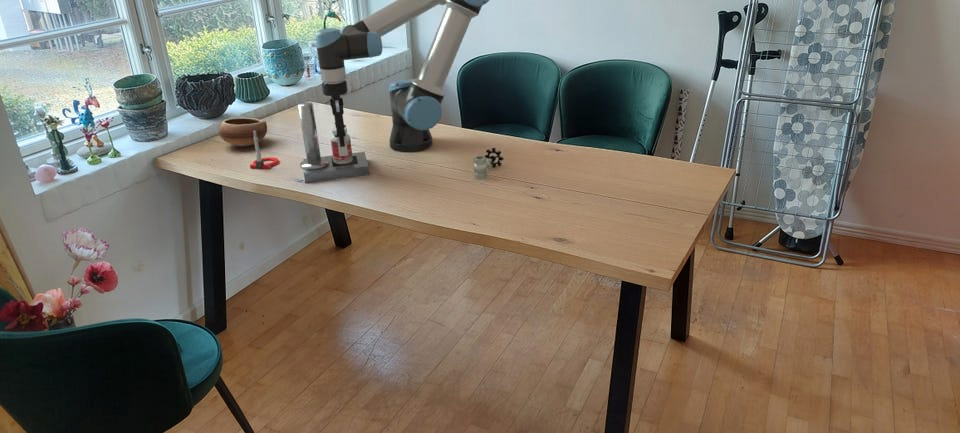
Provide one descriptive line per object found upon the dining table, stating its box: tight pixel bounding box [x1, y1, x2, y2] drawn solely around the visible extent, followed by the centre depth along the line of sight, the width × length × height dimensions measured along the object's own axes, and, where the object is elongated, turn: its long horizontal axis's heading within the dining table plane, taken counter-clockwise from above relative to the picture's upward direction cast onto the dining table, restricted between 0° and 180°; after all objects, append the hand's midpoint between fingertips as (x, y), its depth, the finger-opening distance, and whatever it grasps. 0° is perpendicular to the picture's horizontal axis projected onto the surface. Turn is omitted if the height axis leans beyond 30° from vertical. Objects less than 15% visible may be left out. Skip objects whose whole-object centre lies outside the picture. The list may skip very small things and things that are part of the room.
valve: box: [473, 147, 504, 180], centre depth 213 cm, size 7×7×12 cm
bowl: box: [219, 117, 268, 147], centre depth 247 cm, size 16×16×10 cm
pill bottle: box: [330, 126, 353, 164], centre depth 218 cm, size 6×6×11 cm
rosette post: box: [297, 101, 370, 184], centre depth 216 cm, size 21×14×23 cm, turn 103°
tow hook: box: [249, 131, 280, 169], centre depth 228 cm, size 8×13×9 cm
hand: (343, 151), depth 219 cm, fingers closed on pill bottle, 6 cm apart
